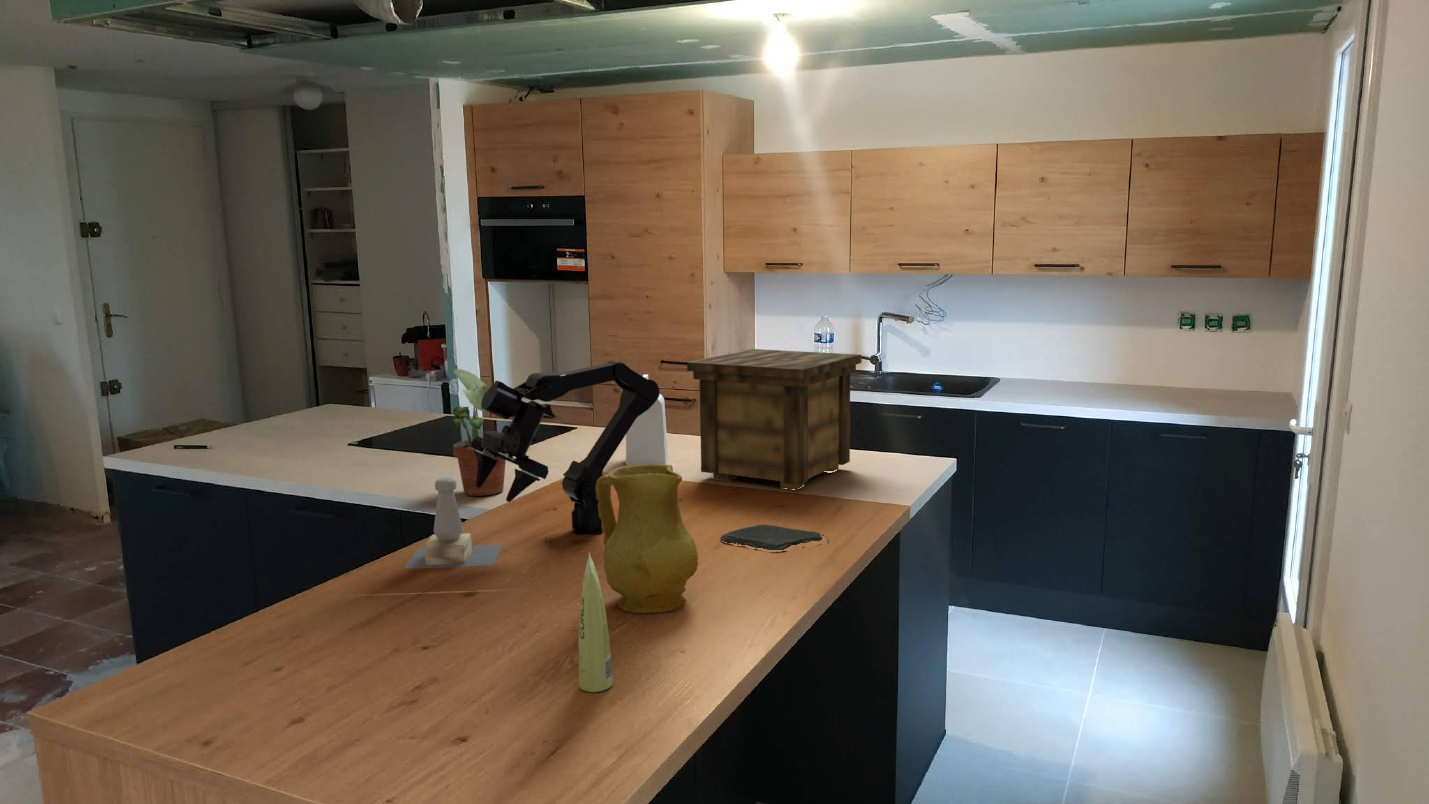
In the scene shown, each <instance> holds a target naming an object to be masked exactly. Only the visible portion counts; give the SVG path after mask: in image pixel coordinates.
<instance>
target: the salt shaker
mask: <svg viewBox="0 0 1429 804" xmlns="http://www.w3.org/2000/svg"><path fill="white" fill-rule="evenodd" d="M434 489H435V490H436V491H437V500H436V509H435V515H434V516H435V517H434V522H433V523H434V525H433V533H434V535H436V537H437V538H438V540H439V541H441V542H453V541H456V540H459V538H460V535H461V534H462V531H463V524H462V520H461V516H460V511H459V508H458V503H457V500H456V495H455V491H454V490H456V489H457V480H456V479H455V478H454V477H449V476H447V477H441V478H438V479H436V480H435V482H434Z"/></svg>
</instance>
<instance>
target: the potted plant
mask: <svg viewBox="0 0 1429 804" xmlns="http://www.w3.org/2000/svg"><path fill="white" fill-rule="evenodd" d="M452 371H453V373H454V375H455V376H456V377H457V379H458V380H459V382H460V383H462V385H463V386H464V388H465V389H462V392H463V394H464V395H465V397H466V398H467V399H468V401H469V403H470V404H471V405H472V406H473V412H472V418H471V415H470V413H471V411H470V409H469V406H463V407H462V406H461V405H460V406H455V407H454V408H453V409H452V413H453V416H454V417H453V418H452V420H451V424H452V425H453V427H454V428H455V429H458V428H459V425H460V424H462V427H463V428H464V430H465V431H466V435H467V440H462V441H457V442H455V443H454V444H453V445H452V450H453V457H454V458H455V459H457V464H458V467H459V472H460V479H461V483H462V489H463V493H464V495H467V496H477V497H478V496H490V495H491V496H492V495H495V494H498V493H501V492H502V493H503V491H504V486H505V475H506V473H505V472H506V461H507V460H505V459H502V458H500V457H496V458H495V457H493V459H495V460H497V461H498V462H497V464H496V465H495V467H494V468H493V470H492V471H491V473H490V474H489V476H488V478H487V479H486V481H485V482H484V484H483V485H482V486H481V487H480V488H478V487H476V480H477V470H478V460H477V457H476V455H475V453H473V450H474V451H475V450H476V449H474V448H472V447H470V445H471V443H472V441H473V439H474V438H476V437H480V430H481V427H482V426H483V425H484V423H485V418H482V417H479V414H478V411H481V412H483V411H485V412H487V411H486V410H484V409H482V407H481V402H482V398H483V396H484V394H485V392H487V390H486V389H487V388H486V387H487V386H488V385H487V384H486V383H485V382H484V381H483V380H482V379H480V378H479V377H478V376H477V375H476V374H474V373H472V372H470V371H468V370H464V369H462V368H455V369H453V370H452ZM467 420H468V423H469V424H470V425H471V429H472V430H471V433H470V430H469V429H468V425H467ZM505 455H508V454H507V453H505ZM505 457H506V456H505Z"/></svg>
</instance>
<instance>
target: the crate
mask: <svg viewBox="0 0 1429 804" xmlns="http://www.w3.org/2000/svg"><path fill="white" fill-rule="evenodd" d="M862 361H863V360H862V354H856V353H855V354H854V353H838V352H837V353H835V352H833V353H832V352H820V351H819V352H816V351H814V352H813V351H800V350H799V351H797V350H782V349H781V350H778V349H761V348H760V349H759V348H752V349H747V350H746V349H745V350H741V351H737V352H732V353H726V354H722V355H717V356H711V357H707V358H702V359H696V360H692V361H687V362H686V371H687V372H692V376H693V378H692V379H693V380H696V381H697V380H699V416H700V417H699V423H700V424H699V425H700V430H699V431H700V433H699V434H700V467H701V468H700V470H701V473H707V474H708V473H709V474H712V479H713V480H717V481H723V482H730V481H732V480H734V479H737V476H738V477H747V478H753V479H754V478H755V479H762V480H771V481H776V482H780V483H779V485H780V487H779V488H780V489H781V488H787V489H786V490H788V489H795V490H796V491H798V490H799V489H798V488H800V487H802V486H803V485H804V486H805V483H807V482H808V481H809V479H811V478H812V477H815V476H818V475H819V474H823V473H822V472H824V471H834V470H836V469H838V468H839V466H844V465H846V464H848V463H850V462H851V461H850V460H851V447H850V446H851V374H852V373H855V372H857V365H859V364H862ZM733 478H734V479H733ZM731 479H732V480H731ZM729 480H730V481H729ZM797 489H798V490H797ZM800 489H801V488H800ZM795 490H794V491H795Z"/></svg>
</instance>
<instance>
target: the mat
mask: <svg viewBox="0 0 1429 804" xmlns="http://www.w3.org/2000/svg"><path fill="white" fill-rule="evenodd" d="M503 546H504V545H503V544H491V545H489V544H488V545H487V544H485V545H472V552H471V554H470V556H469V557H468V559H467V561H466V563H465V564H436V565H425V552H424V547H418V548H417V550H416V551H415V552H414V554H413V555H412V556H411V558H410V559H409V561H407V563H406V564H405V566H404V567H403V570H413V569H438V568H439V569H441V568H444V569H445V568H468V567H469V568H470V567H474V568H475V567H493V566H494V565H495V563H496V561H497V559H498V556H499V554H500V552H501V550H502V548H503Z"/></svg>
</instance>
